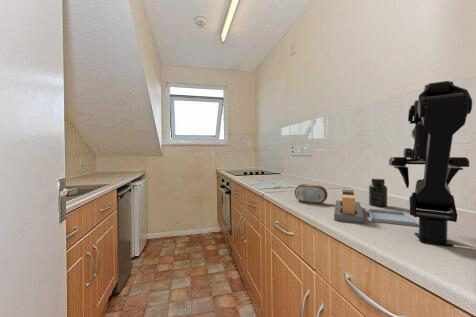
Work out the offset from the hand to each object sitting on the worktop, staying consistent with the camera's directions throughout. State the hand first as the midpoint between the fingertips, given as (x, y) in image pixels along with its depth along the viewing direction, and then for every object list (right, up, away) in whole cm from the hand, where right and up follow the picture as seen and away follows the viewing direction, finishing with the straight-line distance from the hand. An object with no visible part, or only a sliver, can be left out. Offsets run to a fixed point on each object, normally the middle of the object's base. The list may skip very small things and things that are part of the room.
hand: (425, 188), depth 70 cm
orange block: (-20, -12, +9) cm, 25 cm away
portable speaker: (-25, -12, +35) cm, 45 cm away
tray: (-6, -12, +8) cm, 16 cm away
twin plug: (-15, -12, +20) cm, 27 cm away
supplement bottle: (+2, -12, +26) cm, 29 cm away
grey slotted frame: (-18, -12, +14) cm, 26 cm away
